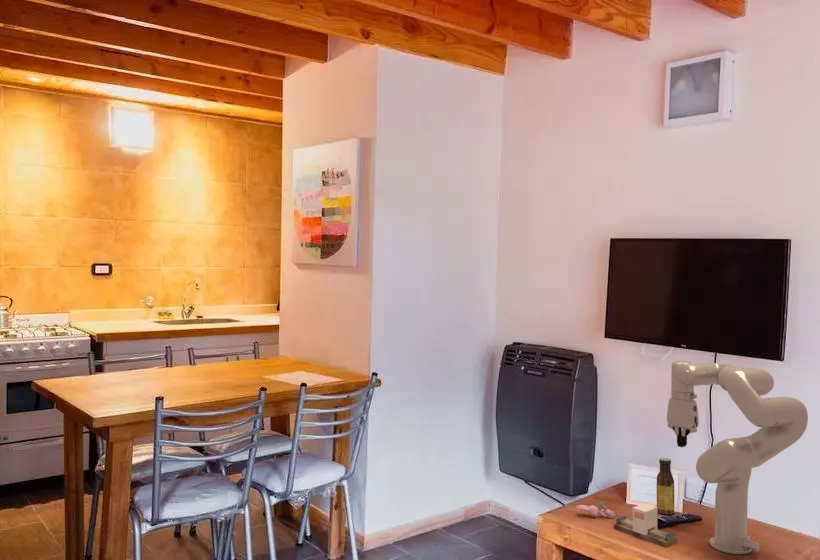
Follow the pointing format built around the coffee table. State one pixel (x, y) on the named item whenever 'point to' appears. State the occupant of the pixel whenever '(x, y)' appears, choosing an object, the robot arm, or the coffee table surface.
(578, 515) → the coffee table surface
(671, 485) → the sauce bottle
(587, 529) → the coffee table surface
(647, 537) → the board
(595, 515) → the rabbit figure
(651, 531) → the rail
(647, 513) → the module
